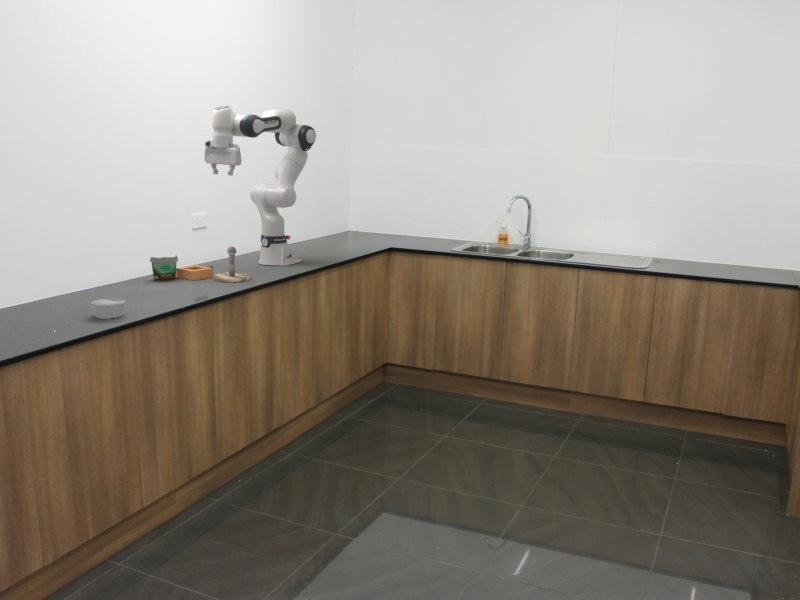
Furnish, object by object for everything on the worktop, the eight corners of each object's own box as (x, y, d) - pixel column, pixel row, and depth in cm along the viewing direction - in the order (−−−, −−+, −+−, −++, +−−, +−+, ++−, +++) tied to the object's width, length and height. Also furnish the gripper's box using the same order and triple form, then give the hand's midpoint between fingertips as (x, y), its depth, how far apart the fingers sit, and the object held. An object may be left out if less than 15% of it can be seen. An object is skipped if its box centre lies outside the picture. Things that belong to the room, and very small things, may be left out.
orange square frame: (193, 280, 338) (193, 271, 337) (176, 277, 344) (176, 268, 343) (219, 275, 350) (219, 267, 349) (202, 272, 356) (202, 264, 355)
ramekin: (130, 313, 278) (129, 298, 276) (120, 320, 267) (119, 305, 266) (98, 312, 277) (97, 297, 276) (86, 319, 266) (86, 304, 265)
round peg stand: (232, 274, 355) (232, 242, 352) (258, 278, 346) (258, 246, 343) (205, 279, 342) (205, 246, 339) (231, 284, 333) (231, 250, 330)
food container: (156, 282, 332) (155, 259, 330) (150, 279, 336) (149, 256, 334) (183, 279, 340) (182, 256, 337) (177, 277, 344) (177, 254, 342)
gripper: (244, 144, 345) (244, 176, 347) (212, 142, 356) (212, 173, 358) (234, 144, 339) (234, 176, 342) (201, 142, 351) (202, 173, 353)
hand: (223, 174), depth 350 cm, fingers open, 8 cm apart
